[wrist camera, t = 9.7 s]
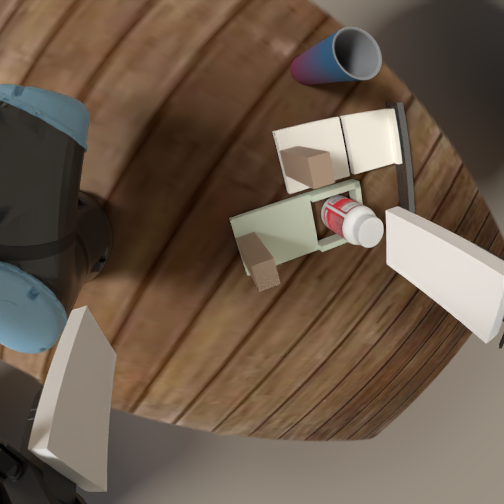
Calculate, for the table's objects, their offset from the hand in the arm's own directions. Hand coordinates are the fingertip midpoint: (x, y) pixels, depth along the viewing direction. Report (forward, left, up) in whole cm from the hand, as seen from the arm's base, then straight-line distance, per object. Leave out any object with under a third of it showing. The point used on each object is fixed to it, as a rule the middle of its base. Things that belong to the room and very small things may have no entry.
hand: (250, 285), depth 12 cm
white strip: (+30, -3, -34) cm, 45 cm away
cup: (+21, +11, -34) cm, 41 cm away
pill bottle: (+21, -14, -34) cm, 42 cm away
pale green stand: (+14, -14, -34) cm, 39 cm away
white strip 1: (+18, -3, -34) cm, 39 cm away
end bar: (+36, -8, -34) cm, 50 cm away
